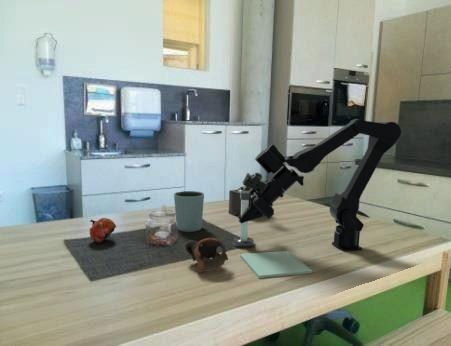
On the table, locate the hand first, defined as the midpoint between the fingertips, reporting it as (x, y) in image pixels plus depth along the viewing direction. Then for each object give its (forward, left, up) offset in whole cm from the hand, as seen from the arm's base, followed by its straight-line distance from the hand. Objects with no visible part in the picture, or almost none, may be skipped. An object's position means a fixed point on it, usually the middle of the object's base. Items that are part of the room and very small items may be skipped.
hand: (239, 220), depth 106 cm
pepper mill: (-15, -33, -8) cm, 37 cm away
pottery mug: (+13, +14, -8) cm, 20 cm away
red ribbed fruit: (+39, -11, -8) cm, 41 cm away
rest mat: (-4, +16, -7) cm, 18 cm away
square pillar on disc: (-1, 0, -7) cm, 7 cm away
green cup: (+12, -20, -8) cm, 24 cm away
